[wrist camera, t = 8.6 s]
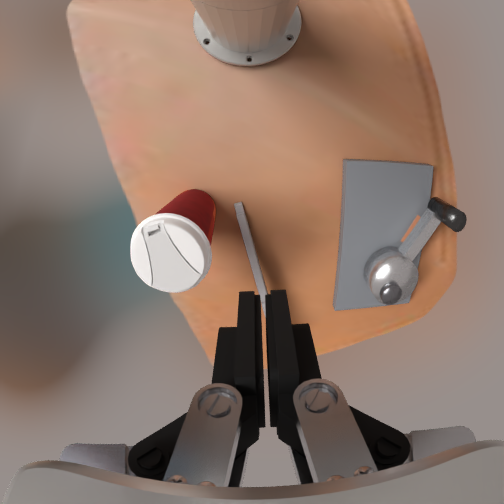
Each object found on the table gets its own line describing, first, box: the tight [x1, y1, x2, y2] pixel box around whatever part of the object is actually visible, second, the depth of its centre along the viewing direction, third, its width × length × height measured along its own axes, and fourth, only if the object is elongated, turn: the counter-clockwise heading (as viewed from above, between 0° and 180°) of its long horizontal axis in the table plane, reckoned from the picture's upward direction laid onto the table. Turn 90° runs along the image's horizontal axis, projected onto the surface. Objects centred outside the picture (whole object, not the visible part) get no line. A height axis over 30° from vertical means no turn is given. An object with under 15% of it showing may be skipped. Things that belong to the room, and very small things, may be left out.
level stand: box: [333, 159, 433, 311], centre depth 38 cm, size 22×13×2 cm, turn 3°
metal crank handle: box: [364, 197, 466, 305], centre depth 34 cm, size 16×7×7 cm, turn 150°
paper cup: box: [131, 189, 216, 293], centre depth 31 cm, size 8×8×14 cm
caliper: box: [234, 202, 268, 318], centre depth 38 cm, size 20×1×6 cm, turn 16°
